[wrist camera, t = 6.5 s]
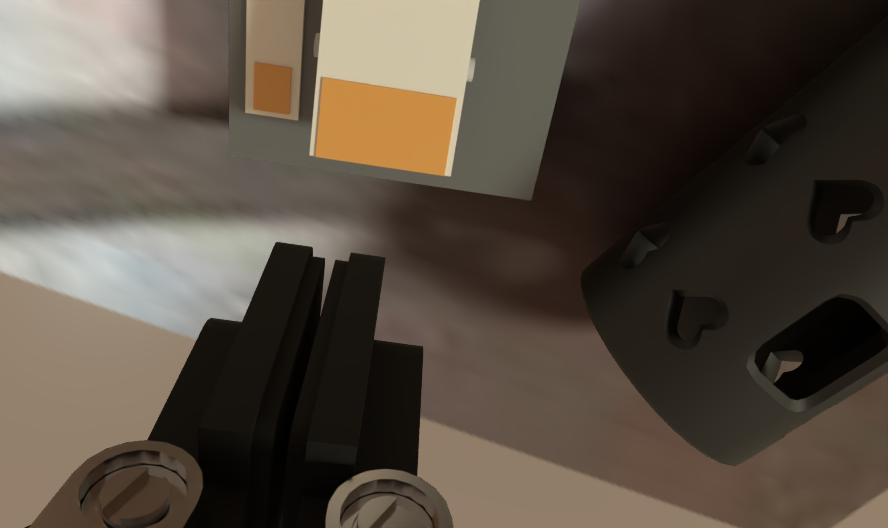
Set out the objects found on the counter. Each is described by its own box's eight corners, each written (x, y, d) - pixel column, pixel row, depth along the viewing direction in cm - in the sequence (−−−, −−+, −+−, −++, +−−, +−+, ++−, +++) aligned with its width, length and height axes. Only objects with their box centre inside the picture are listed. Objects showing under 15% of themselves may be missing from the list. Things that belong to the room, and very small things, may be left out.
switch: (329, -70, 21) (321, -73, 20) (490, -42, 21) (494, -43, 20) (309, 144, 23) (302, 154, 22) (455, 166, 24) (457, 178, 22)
